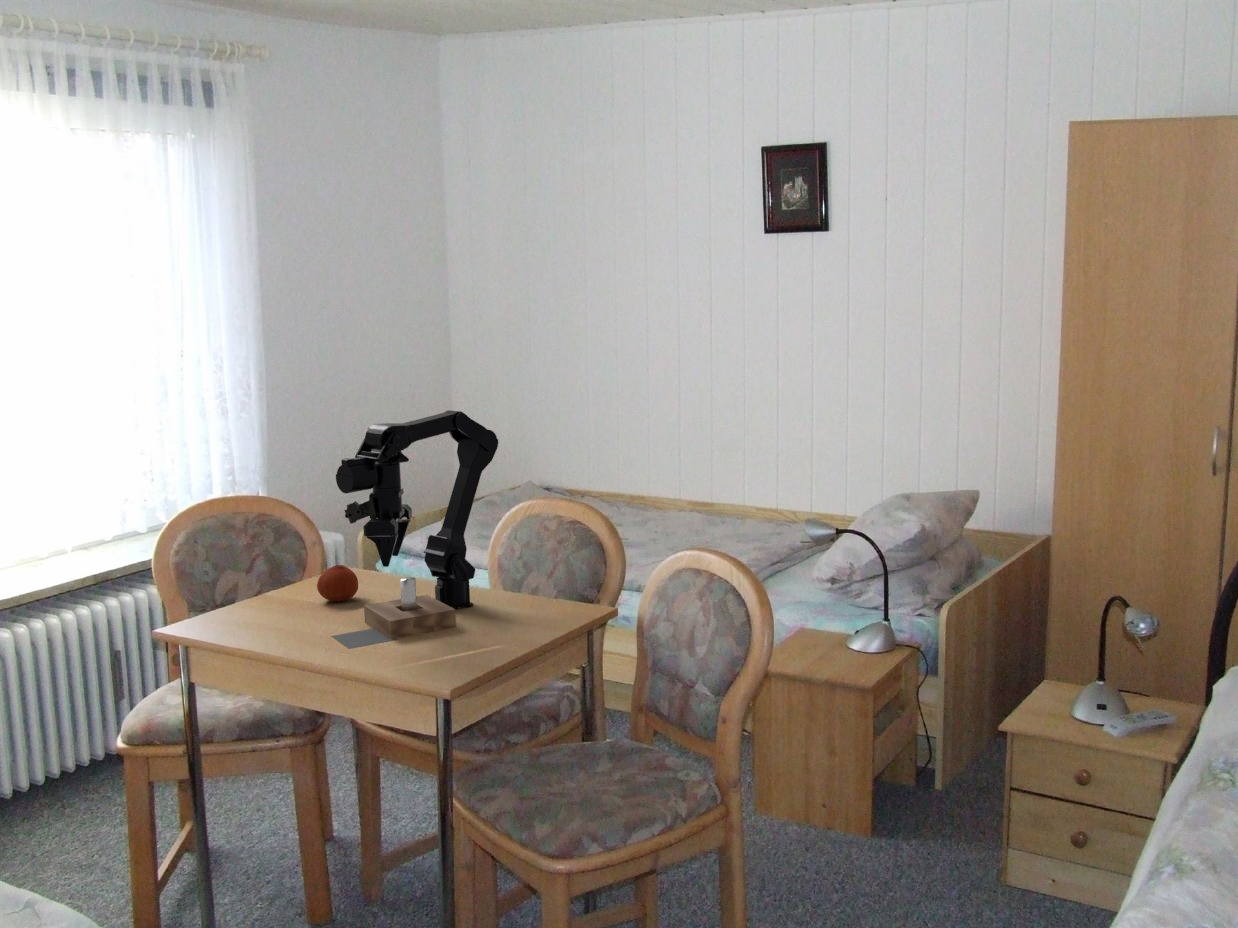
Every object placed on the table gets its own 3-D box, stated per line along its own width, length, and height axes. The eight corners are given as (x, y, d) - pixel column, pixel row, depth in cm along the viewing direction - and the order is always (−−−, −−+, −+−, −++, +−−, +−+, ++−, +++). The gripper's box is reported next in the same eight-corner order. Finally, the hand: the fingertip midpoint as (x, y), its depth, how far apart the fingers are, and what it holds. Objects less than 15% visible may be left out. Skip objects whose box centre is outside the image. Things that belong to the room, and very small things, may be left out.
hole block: (427, 612, 264) (426, 594, 263) (456, 628, 252) (455, 609, 252) (364, 624, 257) (363, 605, 256) (391, 640, 245) (390, 621, 244)
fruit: (319, 596, 279) (317, 561, 277) (359, 594, 280) (357, 559, 279) (316, 607, 270) (314, 571, 269) (358, 604, 272) (356, 568, 270)
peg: (414, 623, 257) (411, 576, 255) (419, 626, 254) (417, 579, 252) (400, 625, 255) (398, 578, 253) (406, 629, 252) (403, 581, 251)
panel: (378, 629, 253) (378, 627, 253) (397, 641, 245) (397, 639, 245) (331, 637, 248) (330, 635, 248) (349, 650, 239) (348, 648, 239)
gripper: (358, 478, 262) (362, 551, 265) (335, 495, 244) (340, 572, 247) (410, 477, 262) (414, 550, 265) (392, 494, 244) (396, 572, 246)
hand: (390, 561), depth 255 cm, fingers open, 9 cm apart
